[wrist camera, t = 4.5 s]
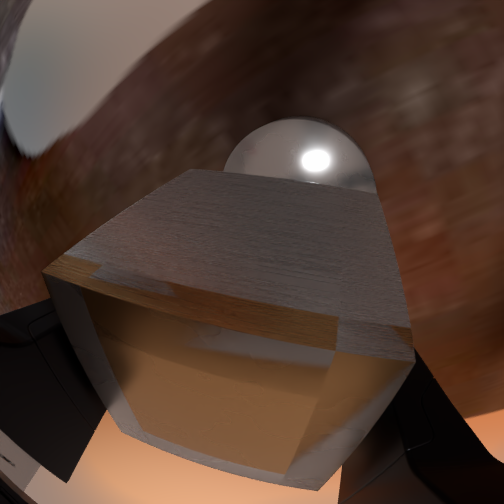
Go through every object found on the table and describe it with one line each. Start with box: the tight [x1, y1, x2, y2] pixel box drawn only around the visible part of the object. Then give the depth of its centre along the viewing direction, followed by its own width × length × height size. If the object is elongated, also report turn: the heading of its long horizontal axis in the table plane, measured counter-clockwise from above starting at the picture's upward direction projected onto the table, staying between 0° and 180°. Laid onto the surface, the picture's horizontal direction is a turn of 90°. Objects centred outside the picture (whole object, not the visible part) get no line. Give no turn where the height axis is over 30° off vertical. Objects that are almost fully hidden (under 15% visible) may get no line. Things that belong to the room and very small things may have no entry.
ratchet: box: [223, 116, 377, 194], centre depth 18 cm, size 20×8×6 cm, turn 178°
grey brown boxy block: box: [41, 169, 416, 491], centre depth 8 cm, size 6×6×6 cm
